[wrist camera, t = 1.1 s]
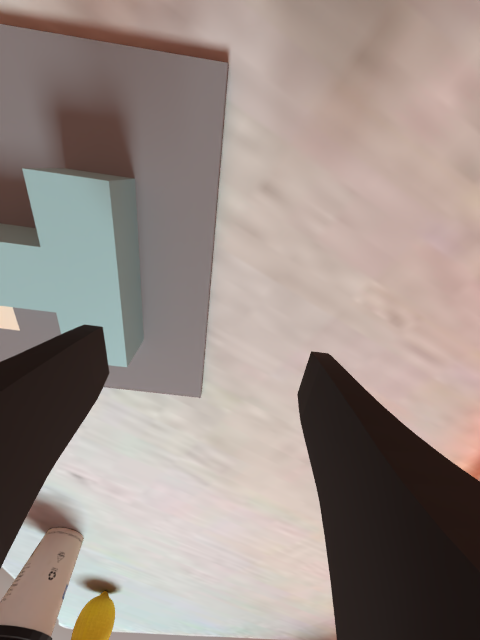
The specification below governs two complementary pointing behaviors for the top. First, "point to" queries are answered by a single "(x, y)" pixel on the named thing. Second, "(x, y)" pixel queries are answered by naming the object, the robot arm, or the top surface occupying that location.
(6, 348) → the mat
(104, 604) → the lemon
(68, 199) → the t block
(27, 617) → the coffee cup
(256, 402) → the top surface
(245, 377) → the top surface
